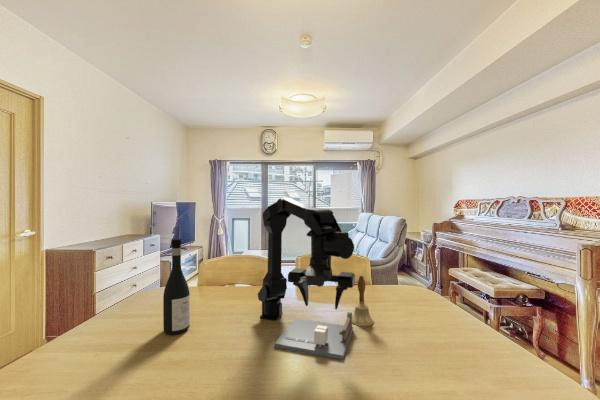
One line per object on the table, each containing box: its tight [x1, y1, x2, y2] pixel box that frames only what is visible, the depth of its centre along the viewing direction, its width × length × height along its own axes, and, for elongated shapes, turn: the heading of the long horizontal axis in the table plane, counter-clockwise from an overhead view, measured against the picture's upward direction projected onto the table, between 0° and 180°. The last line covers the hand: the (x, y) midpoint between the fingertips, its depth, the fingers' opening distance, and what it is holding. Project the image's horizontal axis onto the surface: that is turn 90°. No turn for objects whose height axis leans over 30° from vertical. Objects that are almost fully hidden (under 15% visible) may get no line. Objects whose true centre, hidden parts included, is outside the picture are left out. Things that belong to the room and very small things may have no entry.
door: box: [339, 316, 351, 342], centre depth 88 cm, size 2×10×3 cm, turn 161°
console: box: [273, 311, 354, 361], centre depth 88 cm, size 20×19×6 cm
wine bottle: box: [162, 238, 191, 335], centre depth 93 cm, size 8×8×30 cm
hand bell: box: [352, 275, 375, 327], centre depth 100 cm, size 8×8×16 cm
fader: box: [314, 325, 328, 345], centre depth 82 cm, size 3×4×4 cm
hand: (321, 307), depth 82 cm, fingers open, 8 cm apart
